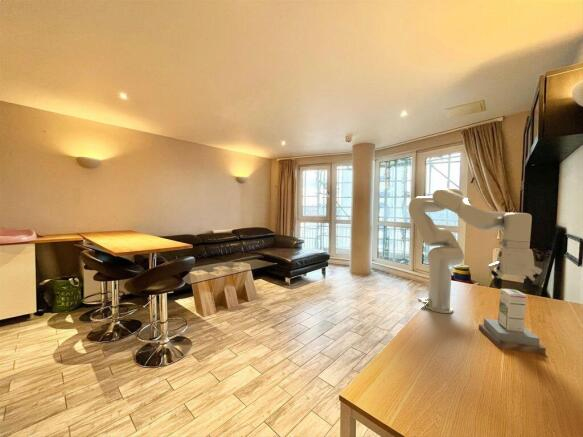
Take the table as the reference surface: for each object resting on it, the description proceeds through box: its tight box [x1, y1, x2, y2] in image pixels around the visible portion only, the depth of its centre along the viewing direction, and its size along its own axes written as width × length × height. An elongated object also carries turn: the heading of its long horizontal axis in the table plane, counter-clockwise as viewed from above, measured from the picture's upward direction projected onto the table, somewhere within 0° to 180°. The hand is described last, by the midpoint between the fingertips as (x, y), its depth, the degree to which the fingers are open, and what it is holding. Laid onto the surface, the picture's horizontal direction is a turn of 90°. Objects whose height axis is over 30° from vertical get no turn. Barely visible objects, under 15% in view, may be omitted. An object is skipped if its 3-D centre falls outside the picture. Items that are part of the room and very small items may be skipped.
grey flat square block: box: [478, 324, 547, 355], centre depth 92 cm, size 14×14×3 cm
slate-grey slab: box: [483, 317, 541, 347], centre depth 92 cm, size 12×12×3 cm
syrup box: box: [497, 288, 527, 332], centre depth 92 cm, size 6×6×14 cm
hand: (512, 288), depth 91 cm, fingers open, 9 cm apart
